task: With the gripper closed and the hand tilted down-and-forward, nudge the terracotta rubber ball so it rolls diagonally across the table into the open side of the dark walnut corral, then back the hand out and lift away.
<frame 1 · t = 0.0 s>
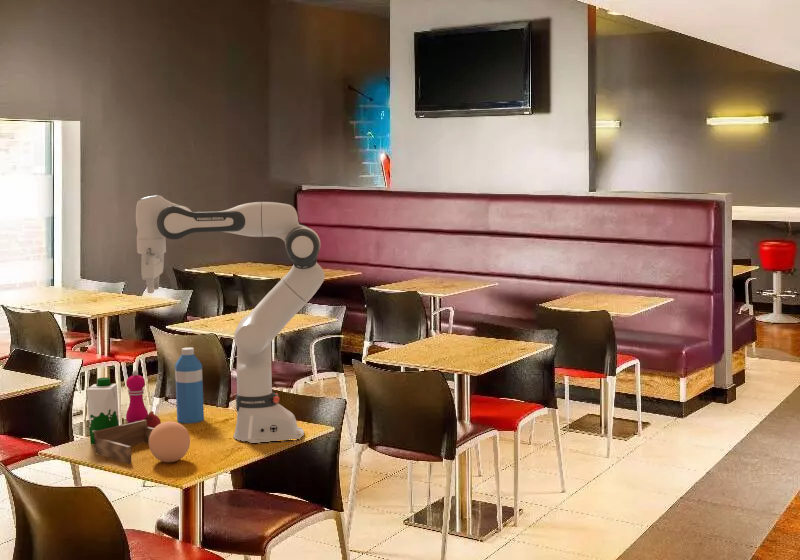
hand: (153, 291, 328), 48 cm above the table, tool pointing down, fingers open, 8 cm apart
milk carton: (104, 442, 332), on the table
pepper mill: (137, 430, 346), on the table
rubber ball: (169, 441, 308), point 6 cm above the table
water bottle: (190, 420, 358), on the table
corral: (138, 452, 319), on the table
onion: (152, 435, 339), on the table
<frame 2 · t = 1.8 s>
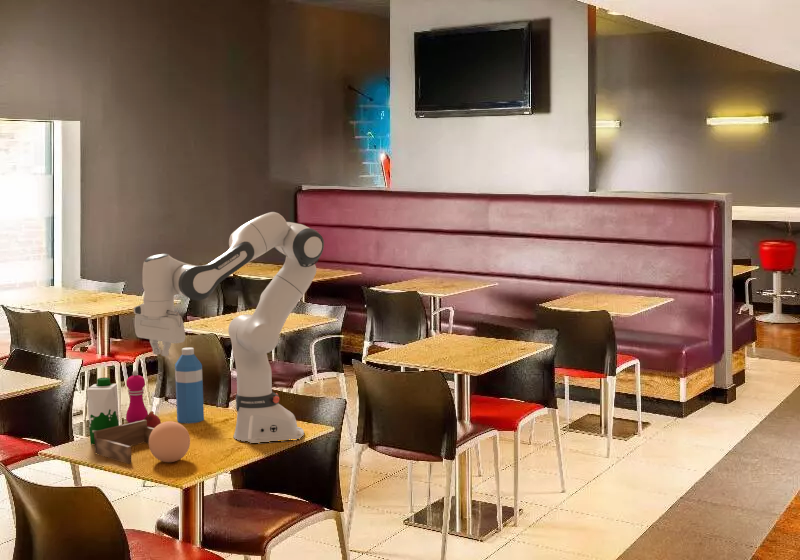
hand: (160, 355, 310), 31 cm above the table, tool pointing down, fingers open, 3 cm apart
nothing on the table moved.
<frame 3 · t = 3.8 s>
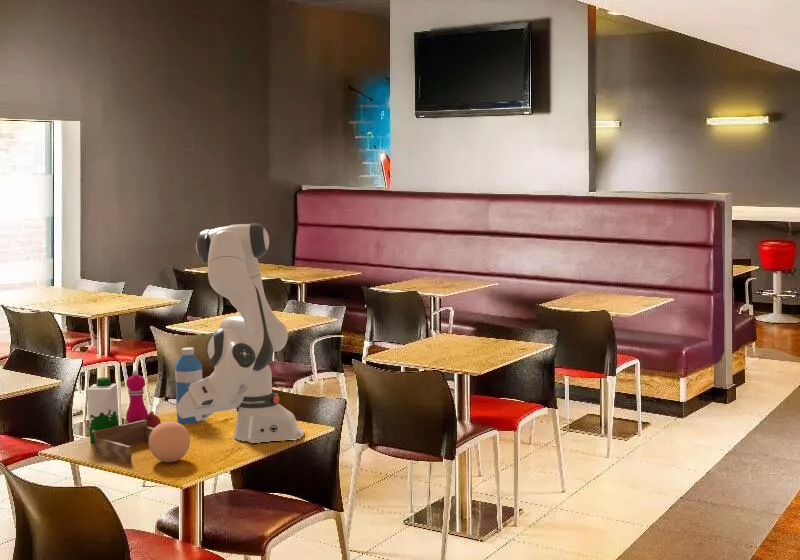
hand: (200, 418, 296), 15 cm above the table, tool tilted 45°, fingers closed
nothing on the table moved.
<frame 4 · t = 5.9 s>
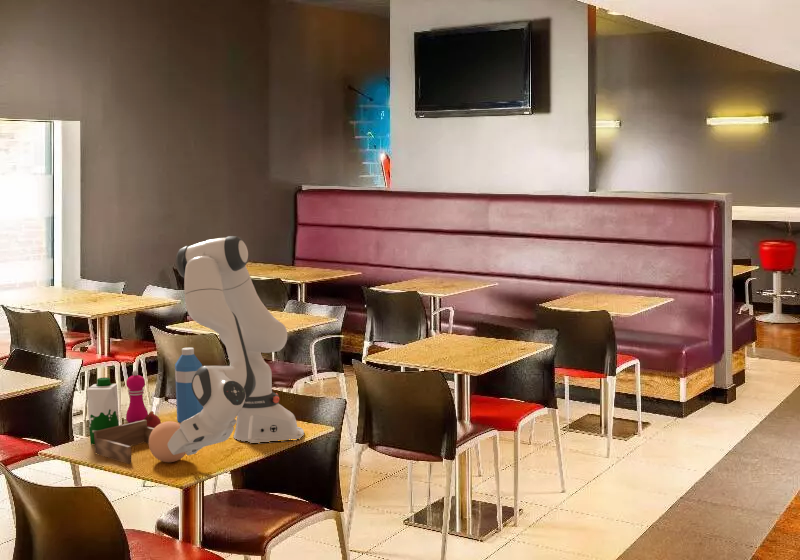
hand: (190, 452, 302), 4 cm above the table, tool tilted 45°, fingers closed
nothing on the table moved.
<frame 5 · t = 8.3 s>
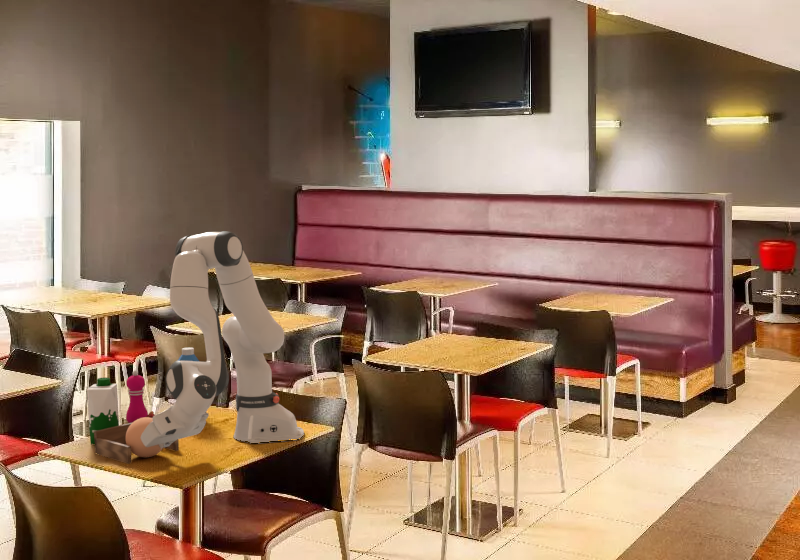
hand: (163, 445, 310), 4 cm above the table, tool tilted 45°, fingers closed
rubber ball: (146, 437, 313), point 6 cm above the table, tilted 94°
everything else where it was.
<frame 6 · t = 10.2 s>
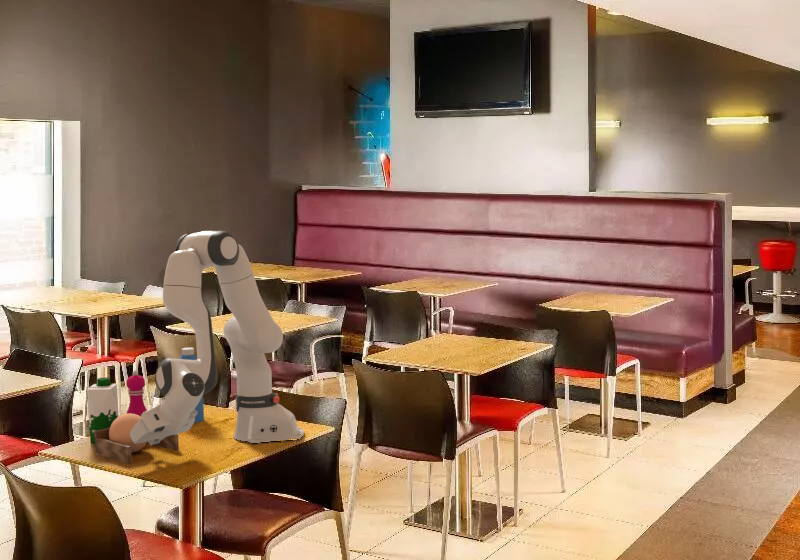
hand: (152, 442, 313), 4 cm above the table, tool tilted 45°, fingers closed
rubber ball: (129, 433, 318), point 6 cm above the table, tilted 169°
everything else where it was.
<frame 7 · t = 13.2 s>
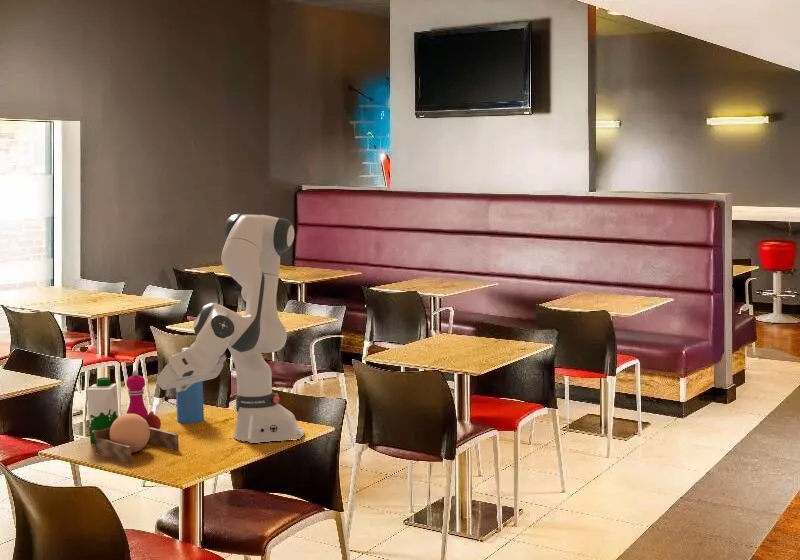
hand: (180, 389, 303), 22 cm above the table, tool tilted 45°, fingers closed
nothing on the table moved.
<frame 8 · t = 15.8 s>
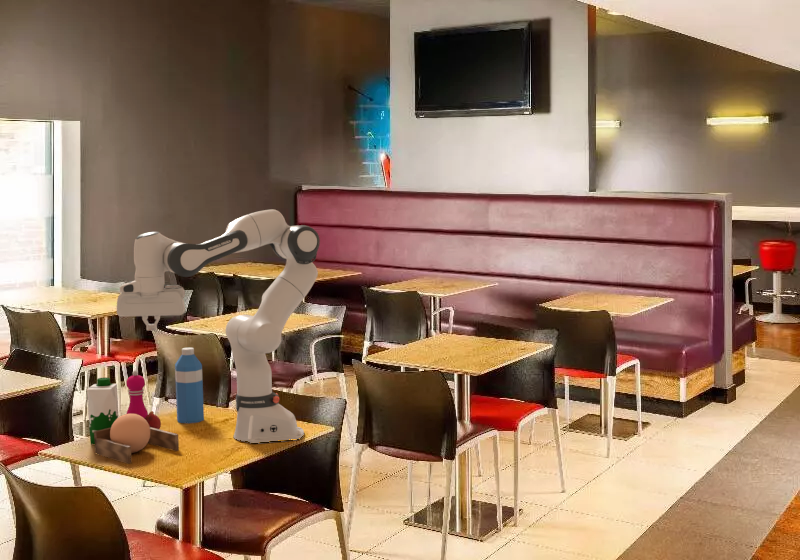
hand: (151, 330, 319), 37 cm above the table, tool pointing down, fingers closed
nothing on the table moved.
at the end: rubber ball 2.2 cm from the corral (horizontally); rubber ball moved 17.7 cm from its start; rubber ball point 6.0 cm above the table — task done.
